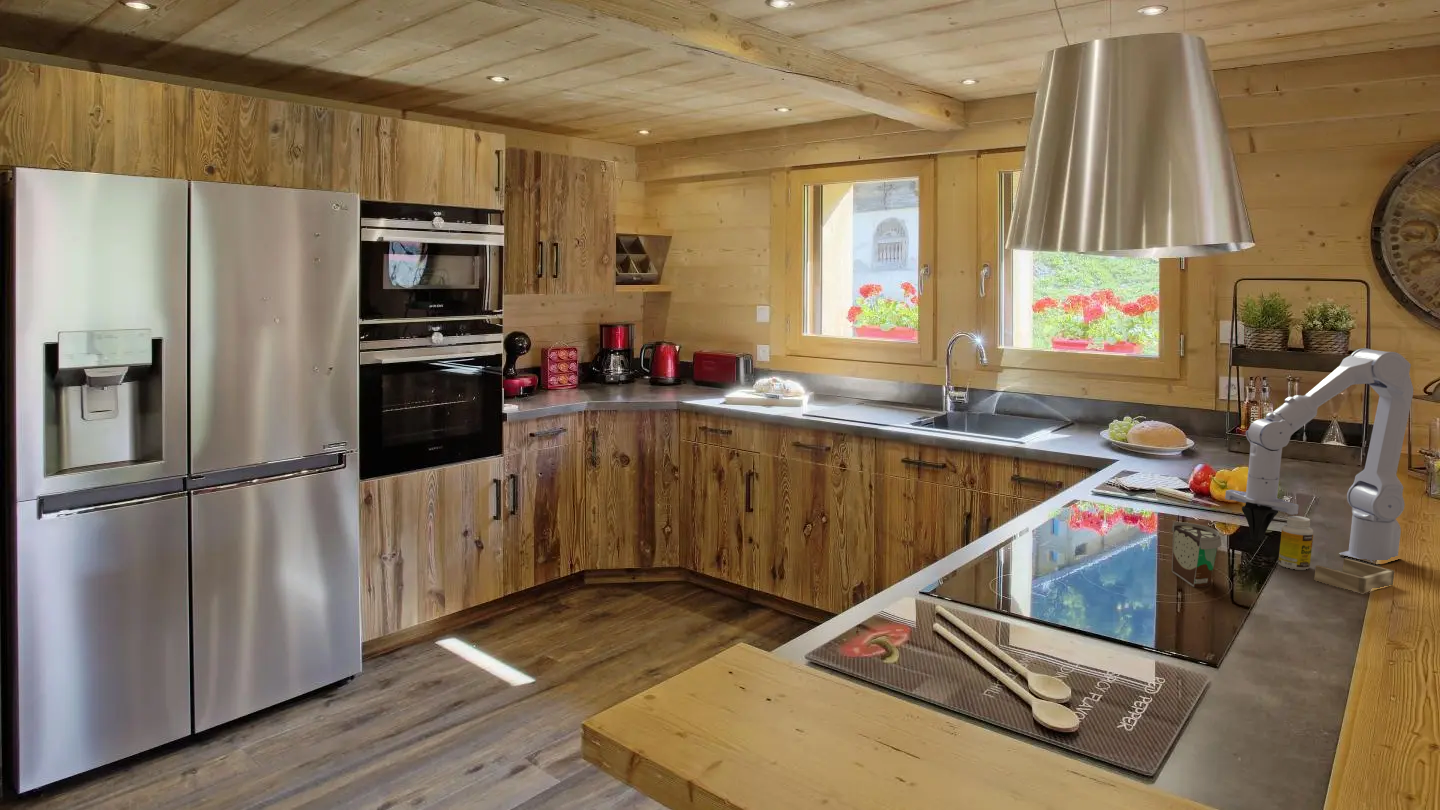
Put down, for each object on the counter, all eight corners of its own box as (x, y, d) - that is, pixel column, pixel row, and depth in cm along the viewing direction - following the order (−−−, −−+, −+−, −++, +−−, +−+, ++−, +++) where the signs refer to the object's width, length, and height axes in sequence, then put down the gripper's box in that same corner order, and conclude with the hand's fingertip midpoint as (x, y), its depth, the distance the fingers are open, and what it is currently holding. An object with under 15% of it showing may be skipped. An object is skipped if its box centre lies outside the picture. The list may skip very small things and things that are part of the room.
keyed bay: (1344, 572, 190) (1346, 558, 189) (1392, 585, 182) (1394, 570, 182) (1314, 580, 185) (1315, 565, 184) (1362, 594, 177) (1364, 579, 177)
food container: (1230, 590, 179) (1235, 539, 177) (1197, 590, 179) (1202, 538, 177) (1199, 569, 191) (1203, 521, 189) (1168, 569, 191) (1172, 521, 190)
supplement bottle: (1301, 572, 190) (1306, 523, 188) (1272, 565, 194) (1277, 517, 193) (1315, 568, 193) (1320, 519, 191) (1286, 561, 197) (1291, 513, 196)
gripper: (1218, 471, 202) (1213, 533, 204) (1286, 486, 190) (1279, 551, 192) (1239, 468, 206) (1233, 529, 208) (1307, 482, 193) (1300, 547, 195)
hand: (1257, 539), depth 200 cm, fingers closed
